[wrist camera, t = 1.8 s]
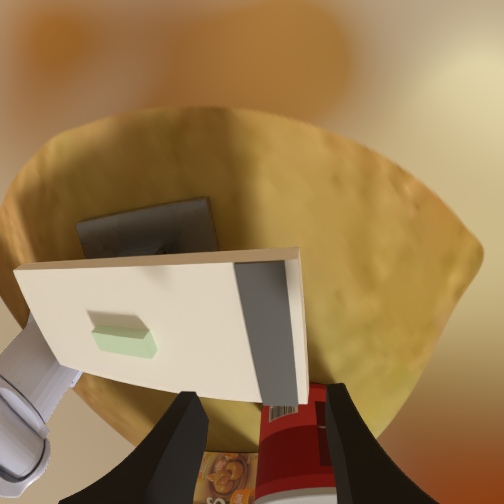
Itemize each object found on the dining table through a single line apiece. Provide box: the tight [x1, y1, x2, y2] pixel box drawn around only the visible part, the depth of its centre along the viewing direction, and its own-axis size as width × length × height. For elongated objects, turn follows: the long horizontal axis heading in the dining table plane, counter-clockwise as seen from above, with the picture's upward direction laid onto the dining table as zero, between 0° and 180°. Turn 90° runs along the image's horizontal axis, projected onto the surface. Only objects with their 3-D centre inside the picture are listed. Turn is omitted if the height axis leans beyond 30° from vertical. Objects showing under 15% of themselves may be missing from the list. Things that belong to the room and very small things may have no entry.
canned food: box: [254, 383, 337, 504], centre depth 20 cm, size 8×8×11 cm
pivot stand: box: [75, 196, 219, 259], centre depth 19 cm, size 10×12×4 cm
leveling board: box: [13, 247, 309, 407], centre depth 16 cm, size 20×9×3 cm, turn 99°
